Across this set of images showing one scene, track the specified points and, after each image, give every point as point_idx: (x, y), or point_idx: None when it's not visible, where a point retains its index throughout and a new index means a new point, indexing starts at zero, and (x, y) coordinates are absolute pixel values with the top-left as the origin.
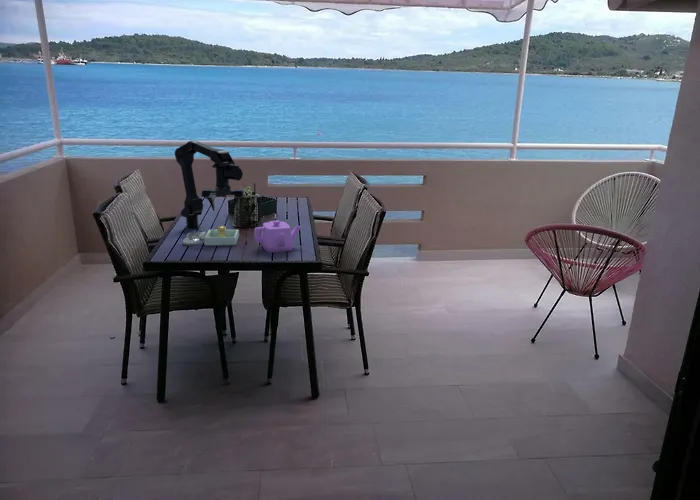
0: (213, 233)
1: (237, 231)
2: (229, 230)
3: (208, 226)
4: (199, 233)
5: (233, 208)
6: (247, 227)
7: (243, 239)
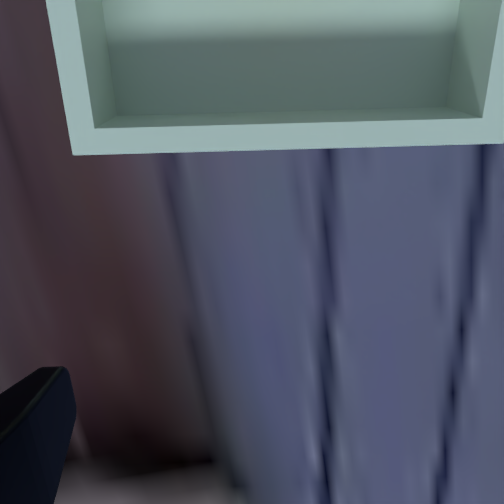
0: (427, 111)
1: (62, 47)
2: (205, 123)
3: (475, 476)
4: None
5: (16, 410)
6: (108, 466)
7: (11, 13)
